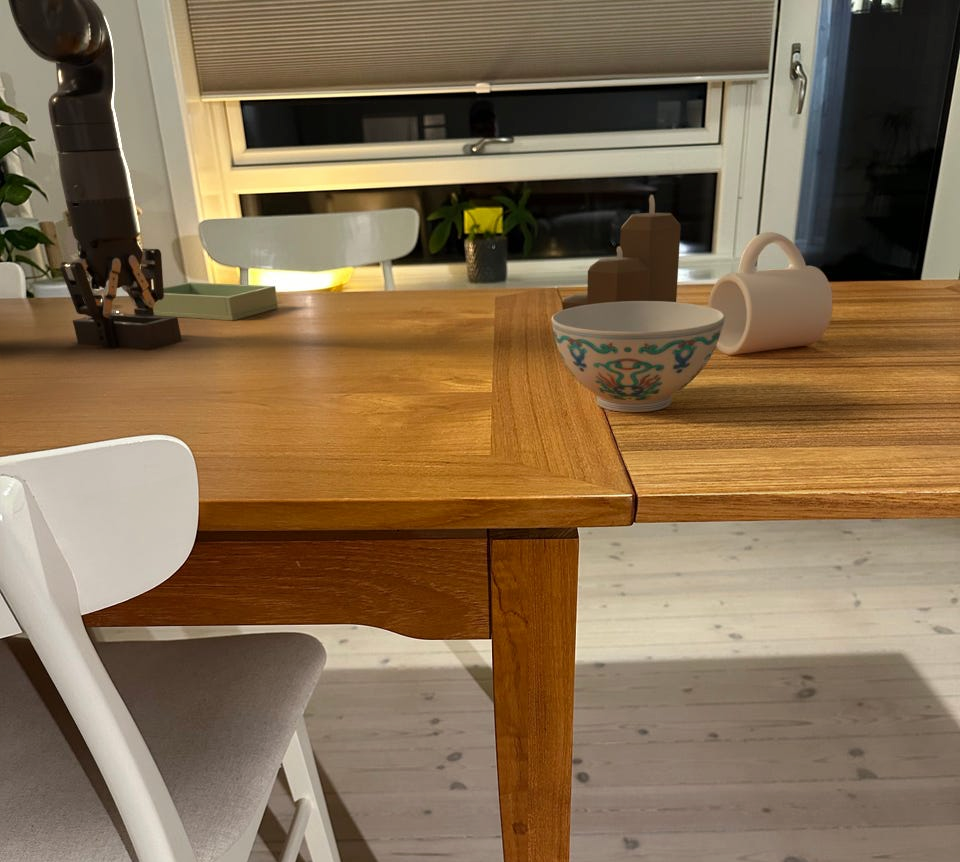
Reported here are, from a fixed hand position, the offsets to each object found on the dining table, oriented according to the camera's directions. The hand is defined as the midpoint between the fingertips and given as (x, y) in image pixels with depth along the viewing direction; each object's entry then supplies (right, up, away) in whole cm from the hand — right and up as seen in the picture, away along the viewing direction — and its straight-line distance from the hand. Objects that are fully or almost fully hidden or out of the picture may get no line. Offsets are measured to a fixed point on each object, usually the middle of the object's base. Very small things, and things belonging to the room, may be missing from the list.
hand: (130, 343), depth 118 cm
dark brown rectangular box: (0, -1, 0) cm, 1 cm away
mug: (+75, -5, -13) cm, 76 cm away
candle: (+61, +1, -2) cm, 61 cm away
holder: (+4, +12, +22) cm, 25 cm away
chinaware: (+58, -15, -31) cm, 67 cm away
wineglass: (-13, +12, +24) cm, 30 cm away
